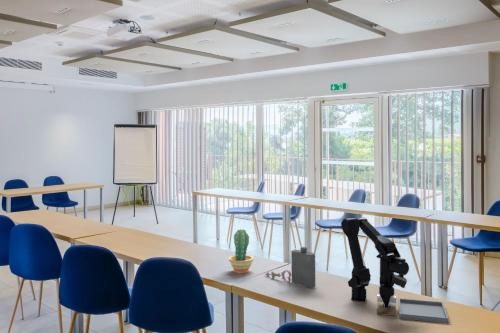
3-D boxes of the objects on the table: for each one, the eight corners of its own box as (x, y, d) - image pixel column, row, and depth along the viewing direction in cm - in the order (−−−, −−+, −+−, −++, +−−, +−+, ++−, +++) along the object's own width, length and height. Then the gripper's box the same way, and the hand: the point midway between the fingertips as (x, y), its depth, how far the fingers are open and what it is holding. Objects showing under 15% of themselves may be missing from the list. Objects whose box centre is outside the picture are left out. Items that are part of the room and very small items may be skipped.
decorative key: (266, 280, 251) (292, 282, 236) (264, 280, 250) (290, 282, 235) (264, 268, 251) (290, 269, 237) (263, 269, 250) (288, 270, 236)
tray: (399, 318, 187) (399, 313, 187) (398, 302, 205) (398, 298, 205) (448, 322, 181) (448, 318, 181) (442, 306, 199) (442, 302, 199)
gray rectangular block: (377, 311, 194) (377, 296, 194) (377, 309, 197) (377, 294, 197) (396, 313, 192) (396, 297, 192) (395, 311, 195) (395, 295, 194)
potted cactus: (257, 268, 265) (256, 227, 264) (250, 275, 251) (249, 232, 249) (233, 266, 270) (232, 226, 268) (225, 273, 255) (224, 231, 253)
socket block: (377, 313, 192) (377, 308, 192) (377, 307, 200) (377, 301, 199) (396, 315, 190) (396, 310, 189) (395, 308, 197) (395, 303, 197)
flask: (318, 285, 231) (318, 248, 230) (311, 288, 227) (311, 250, 226) (296, 279, 241) (296, 244, 240) (289, 282, 237) (289, 246, 236)
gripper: (406, 277, 182) (406, 313, 183) (404, 264, 200) (404, 298, 201) (379, 275, 186) (379, 310, 186) (379, 263, 203) (379, 295, 204)
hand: (386, 303), depth 194 cm, fingers open, 9 cm apart
